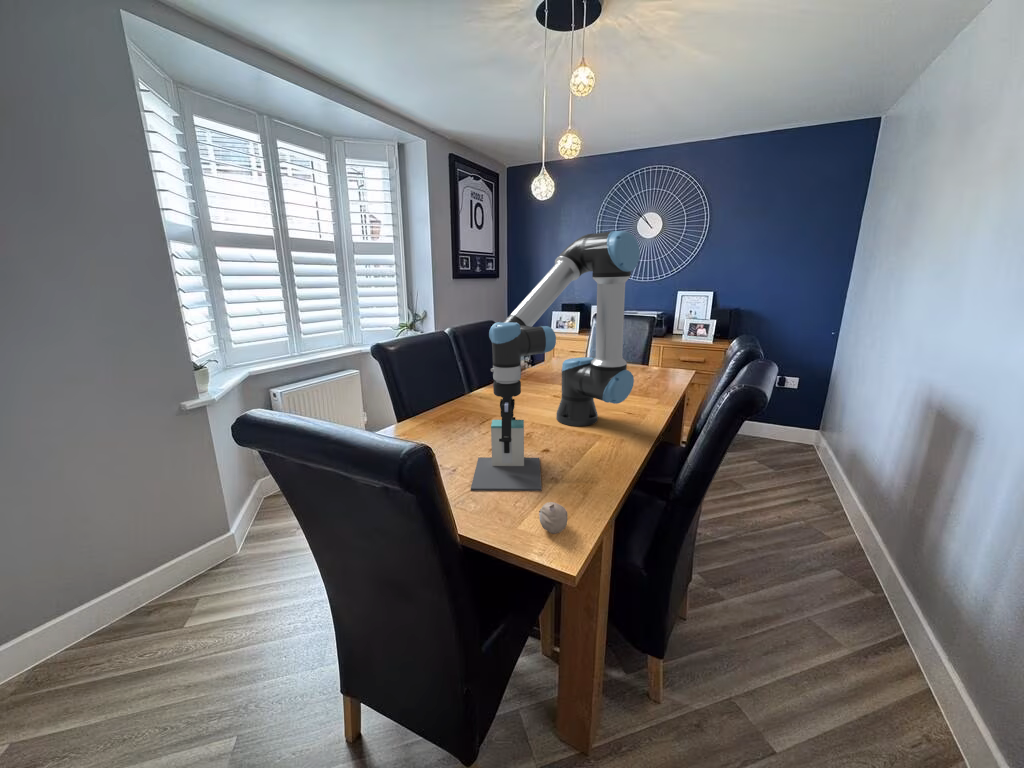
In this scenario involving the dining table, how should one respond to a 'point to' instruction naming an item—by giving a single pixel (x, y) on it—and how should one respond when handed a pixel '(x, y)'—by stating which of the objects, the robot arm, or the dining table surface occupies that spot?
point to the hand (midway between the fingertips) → (508, 452)
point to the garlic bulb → (553, 517)
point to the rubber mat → (507, 476)
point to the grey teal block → (517, 443)
